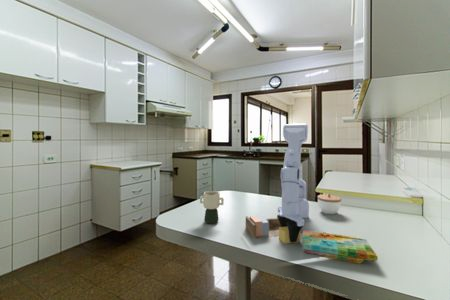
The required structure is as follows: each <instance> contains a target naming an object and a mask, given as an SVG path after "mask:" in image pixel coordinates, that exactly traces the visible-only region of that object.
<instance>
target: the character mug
mask: <svg viewBox="0 0 450 300" xmlns="http://www.w3.org/2000/svg"><path fill="white" fill-rule="evenodd" d="M220 200H221V202H220ZM224 200H225V199H224V197H221V196H220V192H219V191H215V190H210V191H208V190H207V191H204V192H203V195H200V197H199V203H200V204H202V205H203V208H204V209H205V213H204V222H205V223H206V224H214V223H218V222H219V211H218V208H219V207H220V206H224Z"/></svg>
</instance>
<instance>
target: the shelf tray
mask: <svg viewBox="0 0 450 300" xmlns="http://www.w3.org/2000/svg"><path fill="white" fill-rule="evenodd" d="M265 219H266V220H267V221H268V222H269V235H268V236H258V237H256V224H255V223H254V222H253V221H252V220H251V219H250V216H245V230H246V231H247V232H248V234H249V235H250V236H251V237H252V239H260V238H269V237H270V238H271V237H279V227H281V225H280V222H279V220H278V218H277V217H274V218H273V217H271V218H265ZM300 234H302V232H300Z"/></svg>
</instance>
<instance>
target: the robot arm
mask: <svg viewBox="0 0 450 300" xmlns="http://www.w3.org/2000/svg"><path fill="white" fill-rule="evenodd" d="M308 128H309V127H308V124H307V123H289V124H287V123H285V124H284V125H283V128H282V129H283V130H282V132H283V133H282V136H283V139H284V141H285V142H286V143H288V146H287V147H288V150H287V151H285V153H284V160H283V167H281V170H280V182H281V183H280V185H281V187H280V188H281V206H277V213H278V215H277V216H276V218H278V220H279V222H280V225H281V227H287V226H288V230H289V239H290V242H294V243H297V242H296V241H297V238H298V235H299V232H300V230H302V229H303V227H304V226H305V220H304V218H309V217H310V216H309V214H310V213H309V212H310V205H309V201H308V199H307V183H306V181H305V180H304V179H302V176H301V175H302V174H301V173H302V170H301V161H302V160H301V157H302V156H301V155H302V153H301V152H302V145H303V144H304V143H307V141H308V133H309V132H308V131H309V130H308ZM291 220H292V222H291Z"/></svg>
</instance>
